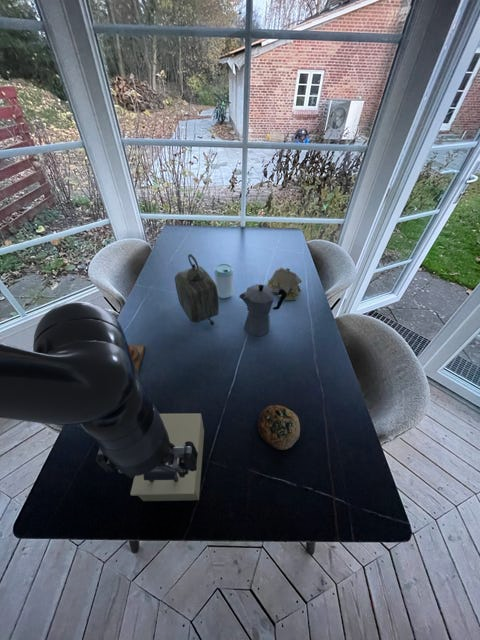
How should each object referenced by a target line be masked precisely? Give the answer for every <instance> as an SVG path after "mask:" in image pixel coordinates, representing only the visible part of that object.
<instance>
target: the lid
mask: <svg viewBox="0 0 480 640" xmlns="http://www.w3.org/2000/svg"><path fill="white" fill-rule="evenodd" d="M159 415H160V417H161V419H162V421H163V423H164V426H165V428H166V431H167V433H168V436H169V441H170V443H172V444H174V445H175V447H183V445H185V442H187V441H191V442H193V444H194V446H195V448H196V451H197V453H198V448H199V436H200V425H201V416H202V413H159ZM197 459H198V457H197ZM178 463H179V458H177V465H178ZM166 465H168V462H167V463H166ZM196 470H197V469H196ZM195 482H196V471H190V470H188V474H187V475H185V477H184V478H180V476H179V474H178V472H177V471H172V472H166V471H163V470H159V469H156V470H152V471H150V472H148V473H146V474H143V475H139V476H135V477H134V478H133V480H132V485H131V489H130V494H129V495H130V496H131V497H134V496H135V497H137V496H138V497H139V496H145V495H194V493H195Z"/></svg>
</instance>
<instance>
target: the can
mask: <svg viewBox="0 0 480 640" xmlns="http://www.w3.org/2000/svg"><path fill="white" fill-rule="evenodd" d="M213 278H214V279H213V281H214V283H215V285H216V288H217V293H218V298H220V299H228V298H230V297H232V296H233V294H234V270H233V269H232V266H231V265H230V264H227V263H219V264H217V265H216V266H215V268H214V270H213Z"/></svg>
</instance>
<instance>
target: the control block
mask: <svg viewBox="0 0 480 640" xmlns="http://www.w3.org/2000/svg"><path fill="white" fill-rule="evenodd" d="M128 346H129V347H131V348H132V350H133V353H134V354H133V356H132V359H133V362H134V365H135V369H136V372H137V374H138V375H139V371H140V367H141V365H142V361H143V358H144V355H145V351H146V346H145V344H128Z"/></svg>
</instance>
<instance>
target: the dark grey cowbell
mask: <svg viewBox="0 0 480 640" xmlns="http://www.w3.org/2000/svg"><path fill="white" fill-rule="evenodd" d="M187 257H188V261H189V264H190V267H191V268H188V269H185V270H182V271H179V272H178V273H176V275H175V276H174V283H175V290H176V294H177V299H178V302H179V305H180V306H181V308H182V309H183V311H184V313H185V315H186V316H187V318H188V319H189V321H191V322H192V323H201V322H203V321H206V320H208V321H209V324H210V325H211V326H214V325H215V324H216V322H215V320H213V319H212V318H213V317H217V316H219V311H220V310H219V308H220V307H219V306H220V305H219V297H218V293H217V288H216V285H215V281H214V279H213V278H212V277H211V276H210V274H209V273H208V272H207V271H206V270H205V269H204V268H203V267H202V266H201V265H199V264H198V261H197V259H196V257H194V255H193V254H192V253H188V256H187ZM192 260H193V262H194V263H193V262H192Z"/></svg>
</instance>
